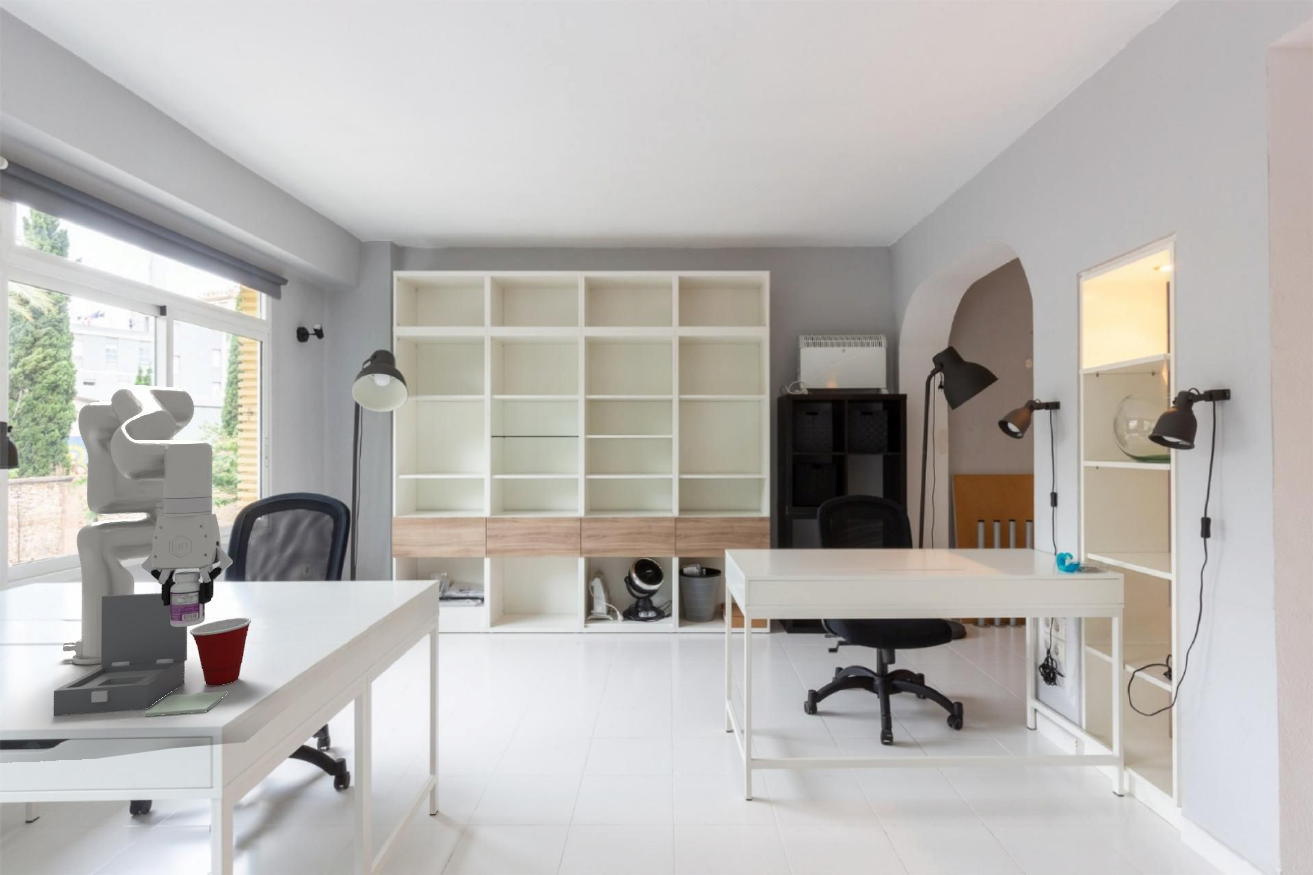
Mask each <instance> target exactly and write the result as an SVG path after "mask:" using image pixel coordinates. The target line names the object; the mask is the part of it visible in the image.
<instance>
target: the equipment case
mask: <svg viewBox="0 0 1313 875" xmlns="http://www.w3.org/2000/svg"><path fill="white" fill-rule="evenodd" d="M186 661H188V626H186V627H174V626H172V625H171V624H170V605H168V606H164V605H163V601H162V599H161V592H158V593H157V592H155V593H152V592H151V593H136V594H135V593H134V594H129V595H106V596H102V636H101V664H100V666H99V667H97V668H96V669H94V670H91V671H90V672H88V673H86V674H84V675H82V676H80V677H77V678H76V679H74V680H71V682H68V683H66V684H64V685H62V686H60V687H58V688H56V689H55V690H53V717H57V716H69V715H70V716H71V714H72V715H84V714H85V715H86V714H97V713H98V714H99V713H111V712H125V711H137V710H148V709H149V708H151V707H152V706H153V705H152V704H154V703H155V702H156V701H158V700H159V699H161V698H162V697H164V696H165V695H167V694H168V693H170V692H171V691H173V692H174V691H175V689H176V688H177V689H178V688H180V687H181V686H183V685H184V684H185V678H186V677H185V668H186V666H185V662H186ZM182 684H183V685H182ZM179 686H180V687H179ZM177 689H176V690H177ZM171 693H172V692H171ZM171 693H170V694H171ZM168 695H169V694H168ZM168 695H167V696H168ZM165 697H166V696H165ZM165 697H164V698H165ZM162 699H163V698H162ZM162 699H161V700H162ZM158 702H159V701H158ZM155 704H156V703H155ZM155 704H154V705H155ZM150 706H151V707H150ZM147 708H148V709H147Z"/></svg>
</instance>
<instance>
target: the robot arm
mask: <svg viewBox="0 0 1313 875" xmlns="http://www.w3.org/2000/svg"><path fill="white" fill-rule="evenodd" d="M194 413H195V405H194V401H193V398H192V397H191V395H190V394H189V393H188V392H187V391H186V390H184V389H182V388H179V387H178V388H177V387H166V386H153V385H152V386H150V385H149V386H148V385H130V386H125V387H122V388H119V389H118V390H117V391H115V392H114V393H113V395H112V396H111V399H110V401H99V402H91V403H87V404H86V405H84V406H82V408H81V409H80V410H79V413H78V419H77V420H78V421H77V422H78V424H77V425H78V429H79V430H78V431H79V434H80V437H81V439H82V442H83V444H84V446H85V449H86V453H87V479H86V480H87V481H86V482H87V485H86V502H87V507H88V509H89V511H90V512H91V513H93V514H95V515H98V516H114V515H115V516H118V515H134V514H136V515H137V514H145V515H146V517H144V518H131V519H130V518H129V519H128V518H125V519H111V520H100V521H95V522H90V523H88V524H86V525H84V526H83V527H82V528H80V530H79V531H78V532H77V535H76V547H77V552H78V558H79V562H80V569H81V570H80V571H81V572H80V574H81V639H79V640H67V641H65V642H63V646H62V647H63V648H62V651H63V652H72V651H74V652H75V654H74V655H73V656H72V661H71V662H72V664H75V665H81V666H82V665H87V666H88V665H99V664H100V665H101V636H102V596H106V595H129V594H135V578H134V575H133V574H132V572H130V570H128V569H127V568H126V567H125V566H123V565H122V563H121V562H123V561H128V560H135V559H144V558H146V559H145V560H144V561H143V563H141V568H142V569H144V571H146V572H148V573H150V575H151V576H152V577H153V578H154V579H155V580H156V581H157V582H158V584H160V585H161V591H160V593H161V599H162V601H163V605H164V606H168V605H170V589H171V587H172V586H173V585H174V584H176V582H175V580H174V578H175V574H176V573H177V570H184V569H185V570H187V569H198V571H200V575H201V579H202V581H201V582H202V583H200V604H205V605H206V604H207V603H210V602H211V601H212V598H214V588H215V587H214V582H215V580H216V579H217V577H219V576H220V575H221V574H222V573H223V572H224V571H225V570H226V569H227V568H229V567H230V566H231V565H233V562H234V560H233V559H232V558H231V557H230V556H229V555H228V554H227V553H226V552H225V551H224V550H223V549H222V546H221V542H222V541H221V533H220V527H219V521H218V518H217V513H215V512H213V448H212V446H211V444H209V443H207V442H204V441H194V440H193V441H192V440H171V439H172V438H173V437H175V436H176V435H177V434H178V433H180V432H181V431H182V430H183V429H185V427H187V426H188V425H189V424H190V422H192V419H193V417H194ZM219 562H220V563H219ZM217 563H219V564H218V565H217V566H216V567H214V565H215V564H217Z"/></svg>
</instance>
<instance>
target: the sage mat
mask: <svg viewBox="0 0 1313 875" xmlns="http://www.w3.org/2000/svg"><path fill="white" fill-rule="evenodd" d="M226 694H227V695H228V691H216V692H215V691H214V692H213V691H212V692H202V693H185V694H172V695H171V694H169V696H166V697H165V699H164V698H163V700H162V701H161V700H160V701H159V703H157V704H155V705H153V707H150V709H147V711H146V712H144V715H143V716H144V717H145V716H147V717H155V716H154V715H160V716H163V715H162V714H173V715H181V714H180V713H187V714H192V713H191V712H200V713H206V712H205V711H207V710H208V711H209V710H210V708H211V707H212V706H213V707H215V705H217V704H218V703H219V702H220V701H221V700H223V699H222V697H224V696H225V695H226ZM227 695H226V696H227ZM226 696H225V697H226ZM225 697H224V698H225ZM220 699H221V700H220ZM219 700H220V701H219ZM218 701H219V702H218ZM217 702H218V703H217ZM216 703H217V704H216ZM213 707H212V708H213ZM212 708H211V709H212ZM208 711H207V712H208ZM178 713H179V714H178ZM145 718H146V717H145Z"/></svg>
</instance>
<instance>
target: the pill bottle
mask: <svg viewBox="0 0 1313 875" xmlns="http://www.w3.org/2000/svg"><path fill="white" fill-rule="evenodd" d="M201 578H202V576H201V573H200V571H199V570H184V571H180V572H179V571H178V572H175V575H174V578H173V581H175V582H176V584H174V585H173V586H172V587H171V589H170V624H171V625H172V626H174V627H186V626H187V627H191V626H192V627H193V626H196V625H200V624H203V623H204V621H205V620H206V612H205V611H206V609H205V608H206V607H205V606H206V604H200V583H202V582H203V581H200V579H201Z"/></svg>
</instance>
